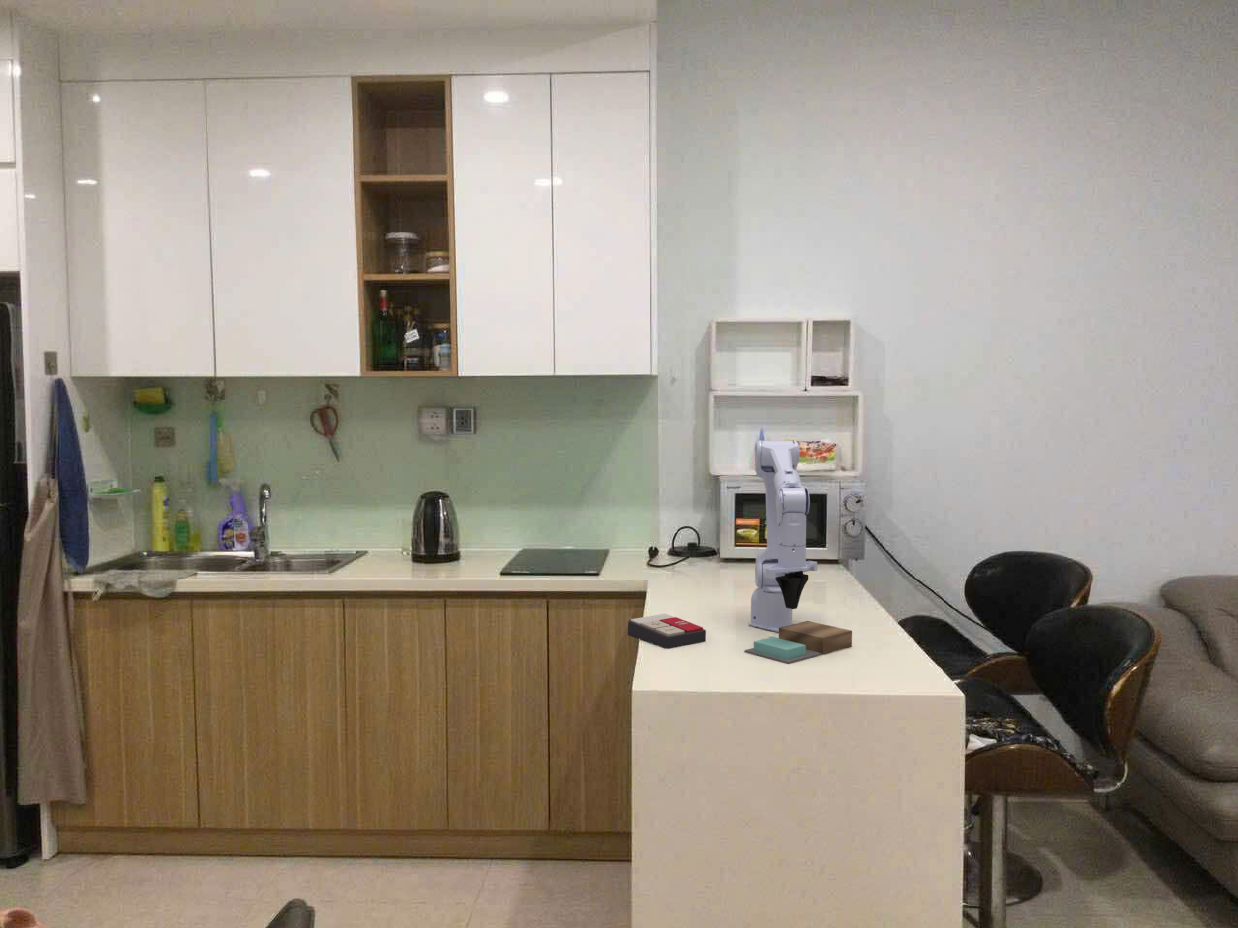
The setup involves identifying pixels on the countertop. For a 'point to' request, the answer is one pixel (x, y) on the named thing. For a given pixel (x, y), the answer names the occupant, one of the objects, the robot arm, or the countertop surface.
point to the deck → (817, 636)
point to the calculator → (666, 631)
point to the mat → (808, 655)
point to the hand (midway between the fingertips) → (791, 608)
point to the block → (779, 648)
